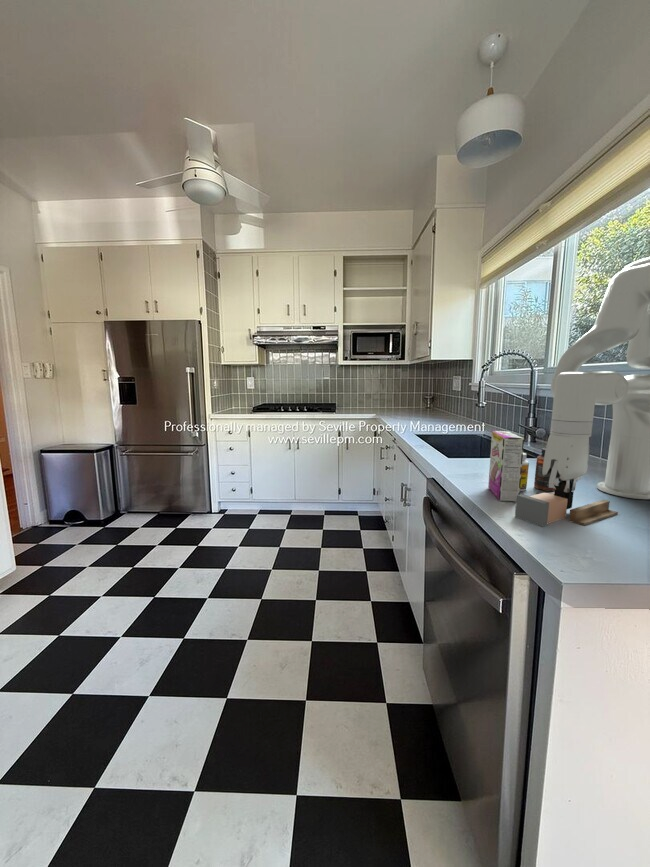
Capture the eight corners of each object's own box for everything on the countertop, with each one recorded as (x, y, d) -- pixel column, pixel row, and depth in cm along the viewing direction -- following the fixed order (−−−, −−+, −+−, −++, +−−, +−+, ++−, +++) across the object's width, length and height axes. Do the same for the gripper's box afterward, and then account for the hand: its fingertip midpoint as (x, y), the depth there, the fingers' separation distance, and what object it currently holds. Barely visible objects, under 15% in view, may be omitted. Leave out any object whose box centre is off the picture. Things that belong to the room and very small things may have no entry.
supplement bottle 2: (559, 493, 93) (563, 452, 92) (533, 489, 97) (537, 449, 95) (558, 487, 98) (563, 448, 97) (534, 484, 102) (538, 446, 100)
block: (542, 511, 81) (544, 492, 81) (565, 518, 77) (567, 498, 76) (521, 517, 78) (522, 497, 77) (544, 525, 73) (546, 504, 72)
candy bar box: (486, 488, 98) (491, 430, 95) (505, 489, 97) (510, 431, 94) (498, 501, 87) (503, 436, 84) (519, 503, 86) (525, 437, 84)
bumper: (519, 515, 78) (521, 494, 77) (546, 525, 73) (549, 502, 72) (514, 516, 77) (516, 495, 76) (542, 526, 72) (544, 503, 71)
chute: (555, 496, 91) (556, 487, 90) (617, 514, 79) (618, 503, 79) (522, 505, 84) (523, 495, 84) (584, 525, 72) (585, 514, 72)
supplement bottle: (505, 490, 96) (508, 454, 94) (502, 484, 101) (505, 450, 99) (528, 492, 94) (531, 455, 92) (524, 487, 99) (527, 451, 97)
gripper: (571, 424, 84) (563, 497, 87) (533, 428, 77) (526, 507, 80) (607, 428, 78) (598, 506, 80) (570, 432, 71) (560, 518, 73)
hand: (562, 506), depth 80 cm, fingers closed
